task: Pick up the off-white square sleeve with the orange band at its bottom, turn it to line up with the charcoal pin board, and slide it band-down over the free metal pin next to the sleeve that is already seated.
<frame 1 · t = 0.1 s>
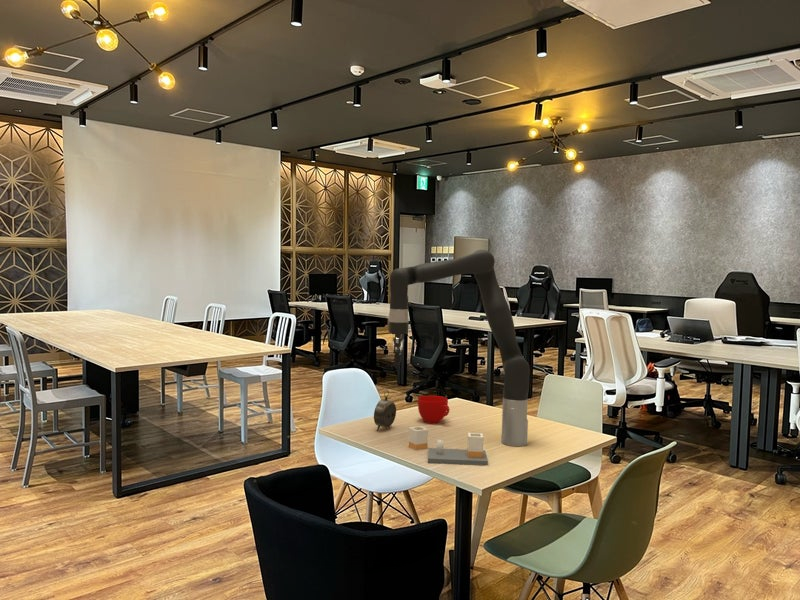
hand: (397, 363, 224), 29 cm above the table, tool pointing down, fingers open, 8 cm apart
pin board: (457, 458, 203), on the table
alarm clock: (385, 429, 238), on the table
ceramic cup: (435, 423, 251), on the table
sleeve: (417, 447, 215), on the table
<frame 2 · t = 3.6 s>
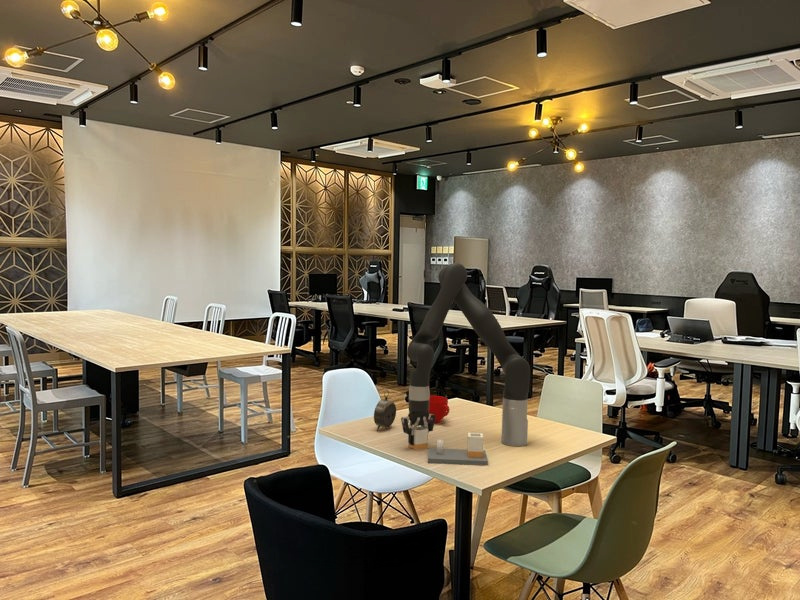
hand: (417, 443, 214), 1 cm above the table, tool pointing down, fingers closed on sleeve, 5 cm apart
sleeve: (417, 447, 215), on the table, touching gripper
everything else where it was.
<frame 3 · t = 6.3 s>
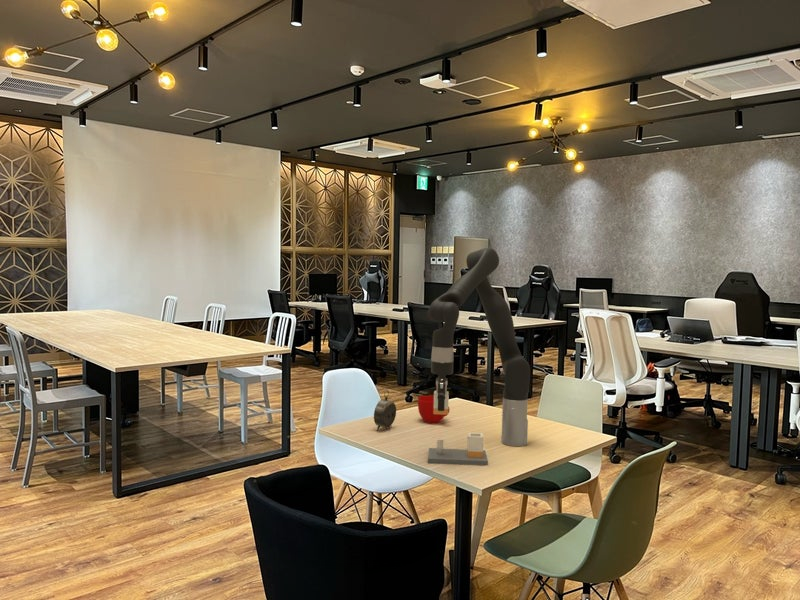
hand: (440, 408, 202), 17 cm above the table, tool pointing down, fingers closed on sleeve, 5 cm apart
sleeve: (440, 412, 202), point 16 cm above the table, touching gripper
everything else where it was.
when the fingers open (4 cm above the table, at t = 9.2 s): sleeve stays where it is, resting on pin board.
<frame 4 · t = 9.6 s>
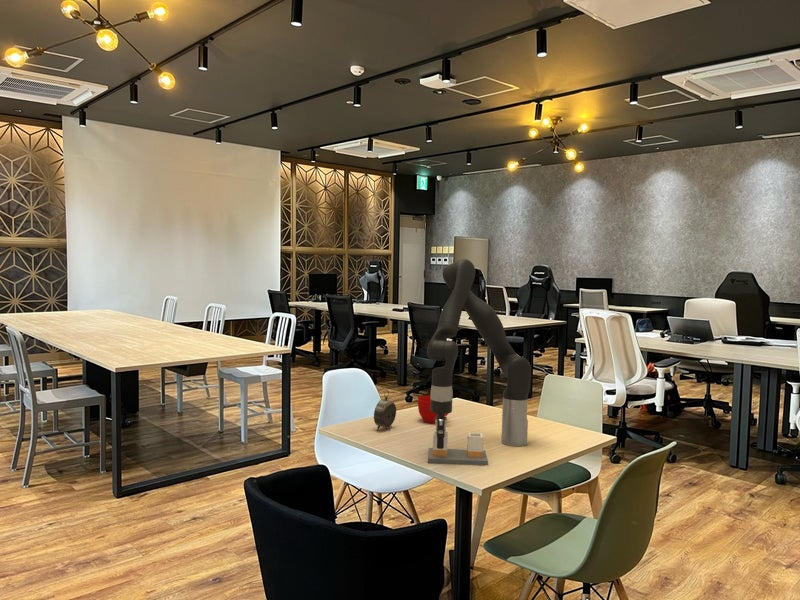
hand: (440, 444, 203), 5 cm above the table, tool pointing down, fingers open, 8 cm apart
sleeve: (439, 453, 203), point 1 cm above the table, touching pin board
everything else where it was.
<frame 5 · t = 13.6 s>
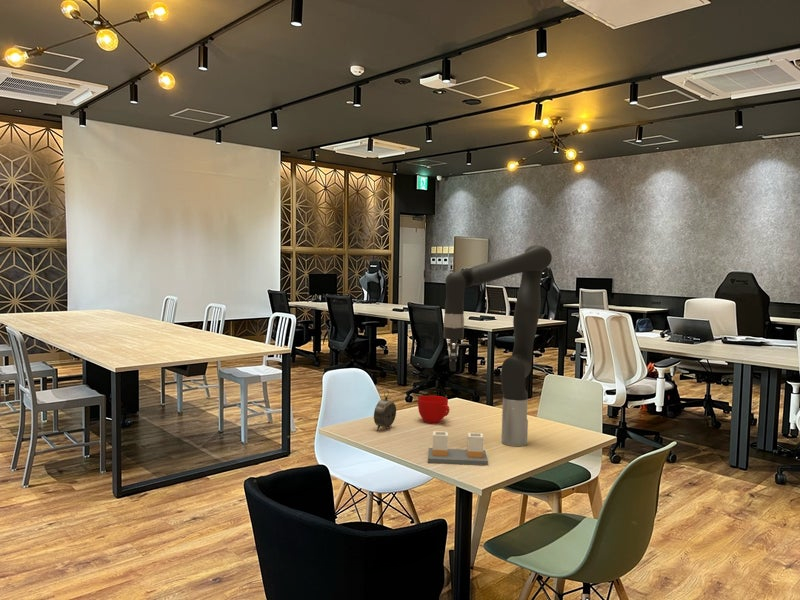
hand: (452, 369, 219), 28 cm above the table, tool pointing down, fingers open, 8 cm apart
nothing on the table moved.
at the end: sleeve 0.1 cm from the target spot on the pin board, point 1.5 cm above the pin board's base; sleeve tilted 0°; the gripper is holding nothing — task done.
